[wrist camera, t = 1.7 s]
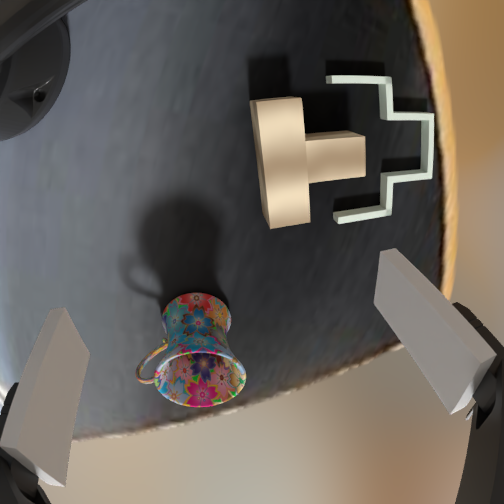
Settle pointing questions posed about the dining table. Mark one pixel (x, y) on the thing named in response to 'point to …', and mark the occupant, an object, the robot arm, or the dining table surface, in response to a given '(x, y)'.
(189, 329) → the mug
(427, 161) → the jig
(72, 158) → the dining table surface
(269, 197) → the t block
